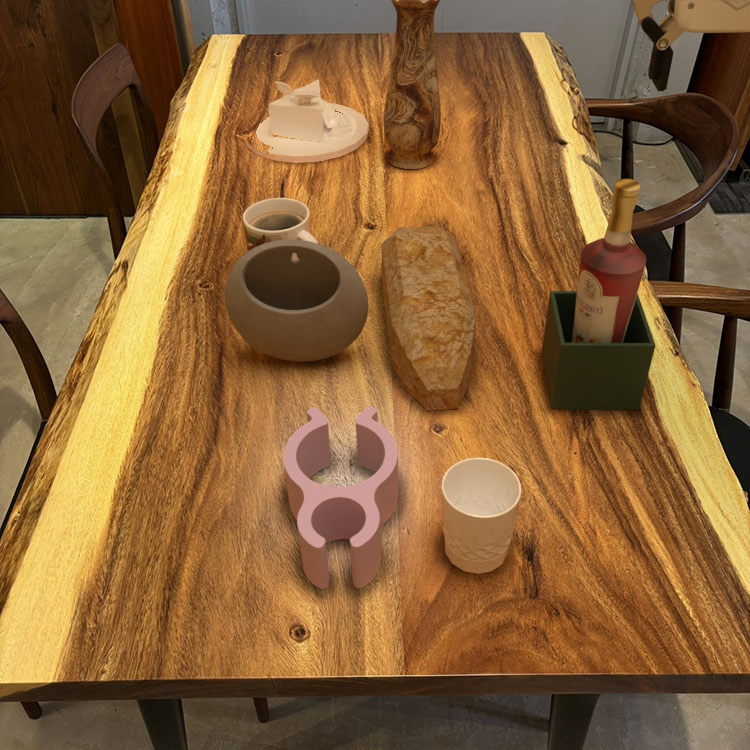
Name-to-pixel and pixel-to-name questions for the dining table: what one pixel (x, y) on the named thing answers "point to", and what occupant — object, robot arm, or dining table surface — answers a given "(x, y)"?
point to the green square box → (594, 361)
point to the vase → (413, 87)
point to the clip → (341, 496)
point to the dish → (309, 127)
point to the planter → (296, 300)
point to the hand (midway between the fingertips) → (707, 85)
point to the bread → (428, 315)
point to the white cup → (479, 513)
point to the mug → (277, 222)
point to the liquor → (610, 274)
